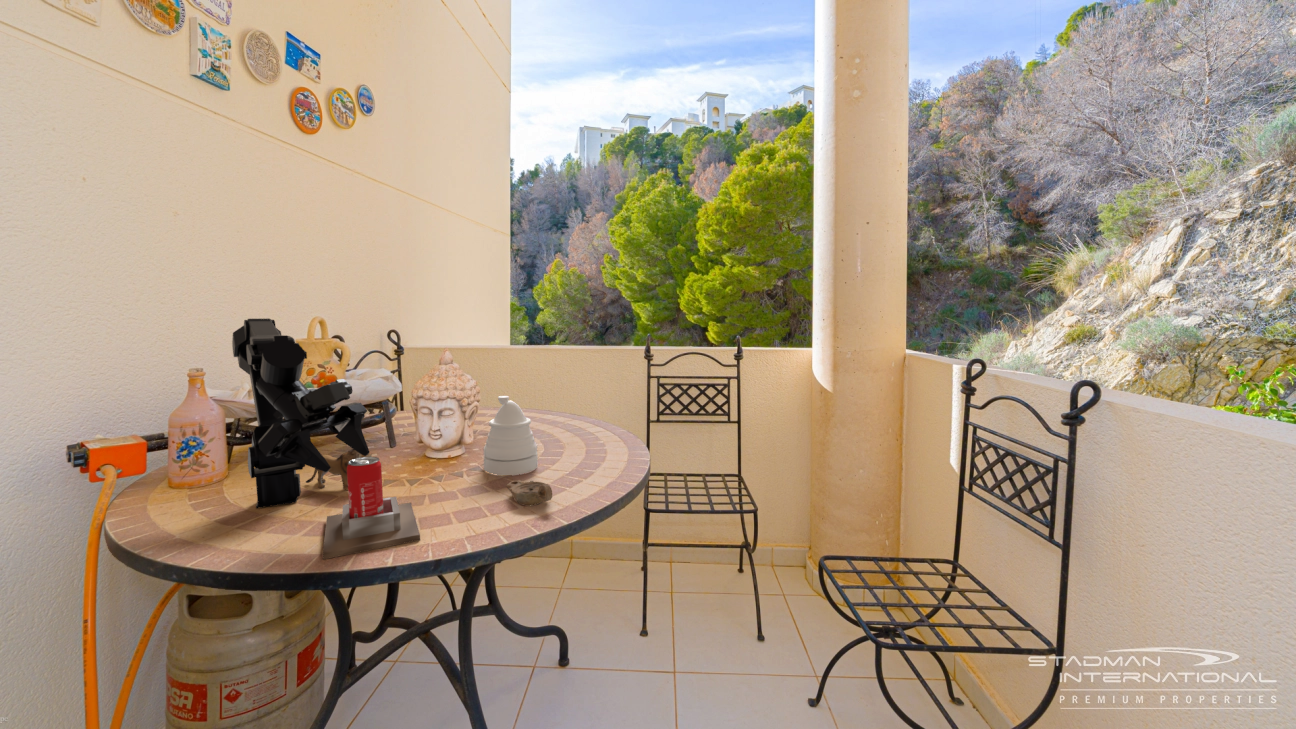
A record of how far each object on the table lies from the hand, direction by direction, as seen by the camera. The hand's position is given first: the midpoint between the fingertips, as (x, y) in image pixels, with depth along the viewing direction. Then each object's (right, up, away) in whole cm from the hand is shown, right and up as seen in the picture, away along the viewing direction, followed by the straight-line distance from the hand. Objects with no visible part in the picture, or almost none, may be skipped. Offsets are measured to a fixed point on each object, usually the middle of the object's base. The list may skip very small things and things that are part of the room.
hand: (349, 461), depth 90 cm
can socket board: (+4, -12, +1) cm, 13 cm away
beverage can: (+4, -12, 0) cm, 12 cm away
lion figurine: (-15, -10, +22) cm, 29 cm away
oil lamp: (+29, -11, +15) cm, 34 cm away
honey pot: (+19, -9, +37) cm, 42 cm away
